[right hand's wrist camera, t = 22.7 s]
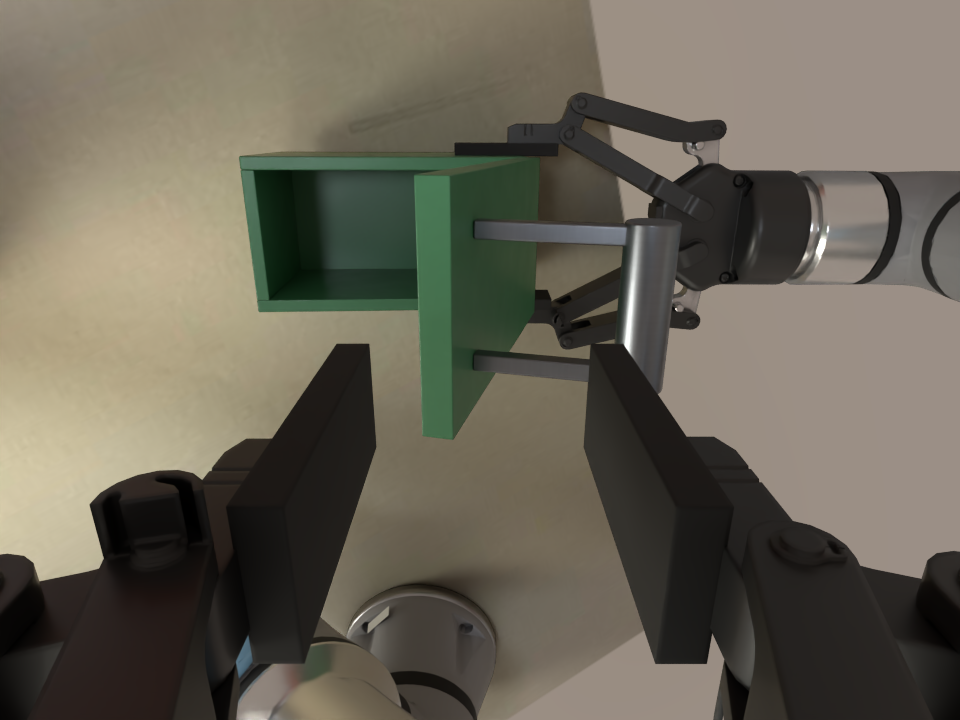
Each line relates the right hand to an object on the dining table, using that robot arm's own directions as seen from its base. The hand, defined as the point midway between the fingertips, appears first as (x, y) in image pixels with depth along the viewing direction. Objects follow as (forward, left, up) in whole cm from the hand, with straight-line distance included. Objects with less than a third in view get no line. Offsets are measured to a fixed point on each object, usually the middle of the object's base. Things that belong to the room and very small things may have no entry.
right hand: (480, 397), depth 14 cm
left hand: (-1, +2, -28) cm, 28 cm away
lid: (0, 0, -15) cm, 16 cm away
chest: (-2, +6, -34) cm, 35 cm away
